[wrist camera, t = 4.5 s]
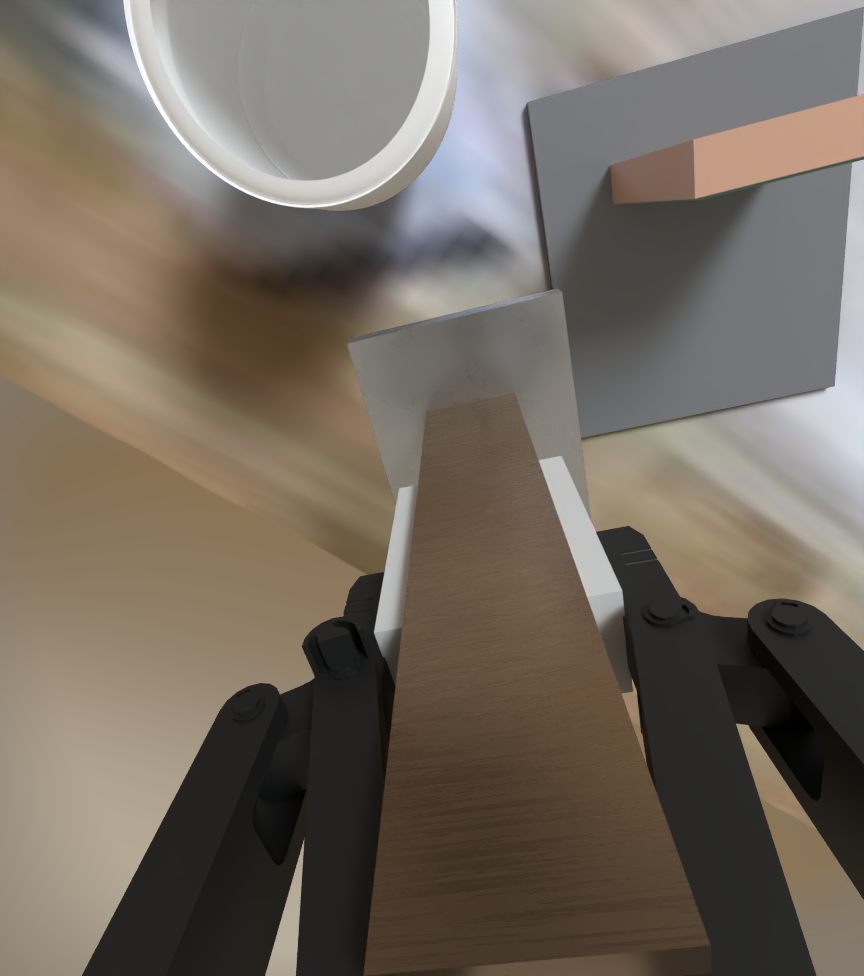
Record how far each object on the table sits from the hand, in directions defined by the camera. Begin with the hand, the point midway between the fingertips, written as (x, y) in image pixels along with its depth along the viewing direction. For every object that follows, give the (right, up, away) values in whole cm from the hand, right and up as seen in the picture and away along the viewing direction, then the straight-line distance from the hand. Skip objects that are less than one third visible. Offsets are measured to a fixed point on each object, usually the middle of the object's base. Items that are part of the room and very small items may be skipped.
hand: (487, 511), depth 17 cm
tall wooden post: (0, +3, +6) cm, 7 cm away
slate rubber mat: (+14, +15, +16) cm, 26 cm away
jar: (-6, +22, +14) cm, 27 cm away
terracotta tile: (+13, +19, +14) cm, 27 cm away
